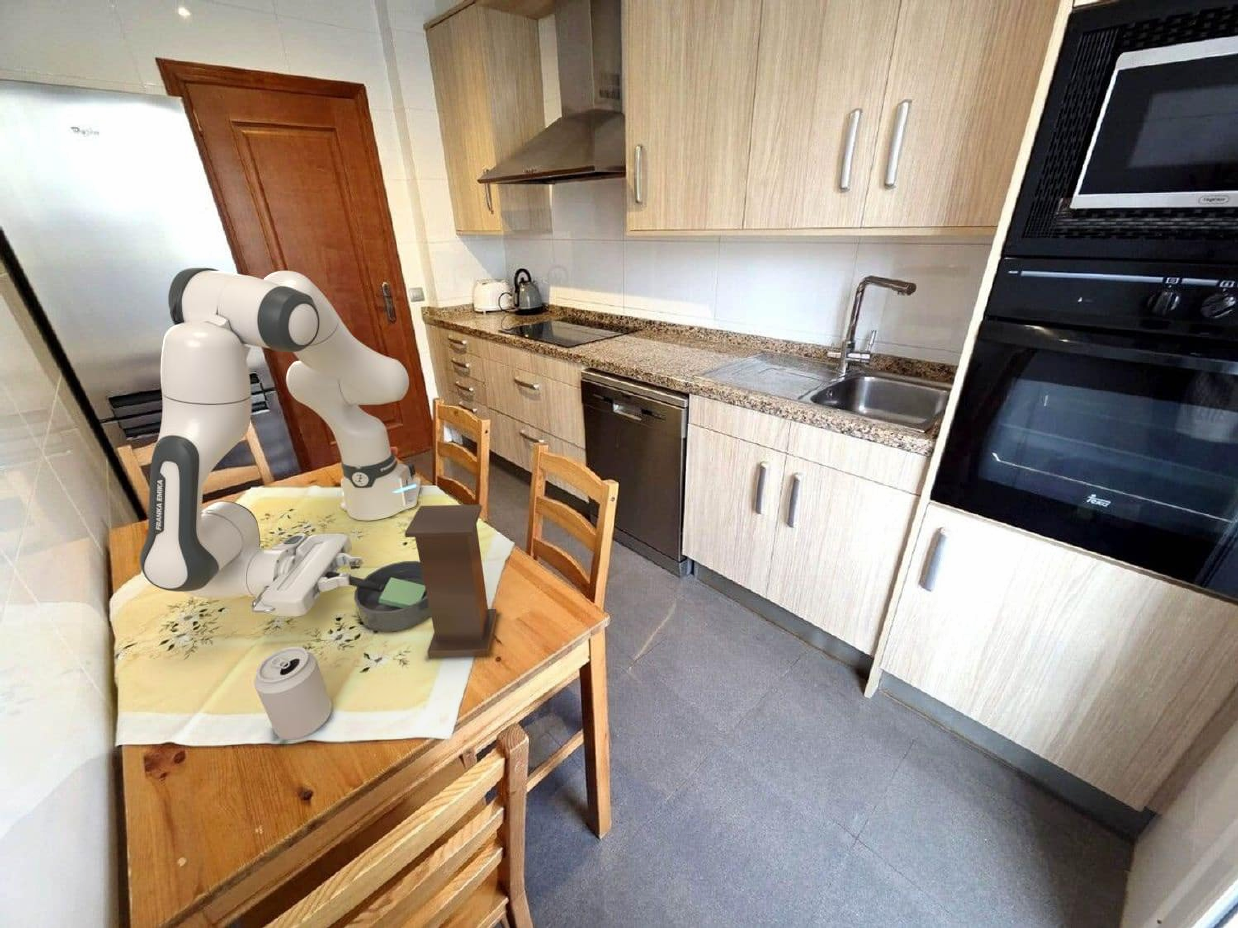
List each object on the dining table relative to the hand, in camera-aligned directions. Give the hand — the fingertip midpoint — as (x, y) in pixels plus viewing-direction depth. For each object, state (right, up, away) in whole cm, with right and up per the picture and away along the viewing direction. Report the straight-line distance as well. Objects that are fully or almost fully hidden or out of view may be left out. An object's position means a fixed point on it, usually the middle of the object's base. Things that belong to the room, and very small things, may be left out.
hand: (355, 570), depth 94 cm
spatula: (+2, -4, +2) cm, 5 cm away
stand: (+22, -11, -3) cm, 24 cm away
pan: (+7, -7, +4) cm, 11 cm away
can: (+2, -19, -19) cm, 26 cm away
